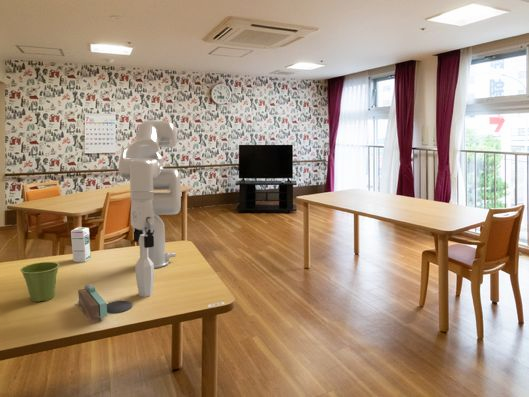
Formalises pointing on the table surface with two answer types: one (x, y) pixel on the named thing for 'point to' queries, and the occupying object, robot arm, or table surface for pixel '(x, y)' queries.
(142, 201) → the robot arm
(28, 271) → the plant pot
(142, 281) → the white bottle
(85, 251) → the syrup box
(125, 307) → the dark grey disc
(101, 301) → the bar
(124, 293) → the table surface
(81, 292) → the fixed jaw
